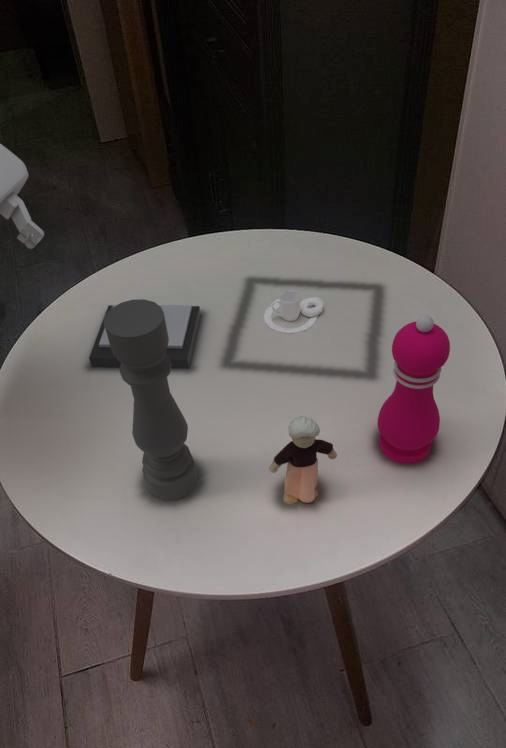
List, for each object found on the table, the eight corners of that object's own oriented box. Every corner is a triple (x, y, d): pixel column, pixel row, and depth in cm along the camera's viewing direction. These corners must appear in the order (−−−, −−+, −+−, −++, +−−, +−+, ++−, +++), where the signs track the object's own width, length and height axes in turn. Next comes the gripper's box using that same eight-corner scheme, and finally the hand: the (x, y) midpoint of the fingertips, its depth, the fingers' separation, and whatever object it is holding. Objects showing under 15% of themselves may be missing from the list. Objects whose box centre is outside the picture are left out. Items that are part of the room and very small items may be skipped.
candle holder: (161, 512, 80) (117, 347, 61) (138, 478, 84) (90, 313, 65) (207, 488, 82) (178, 322, 63) (182, 456, 86) (148, 289, 67)
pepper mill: (362, 447, 85) (375, 317, 70) (400, 416, 88) (419, 286, 73) (408, 478, 81) (432, 349, 66) (446, 446, 84) (477, 315, 69)
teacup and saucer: (325, 304, 104) (326, 281, 101) (319, 337, 99) (319, 315, 96) (268, 300, 105) (267, 278, 102) (259, 333, 100) (258, 311, 97)
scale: (92, 369, 97) (87, 354, 95) (111, 316, 105) (107, 301, 103) (189, 371, 96) (186, 356, 94) (201, 317, 104) (198, 302, 102)
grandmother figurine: (282, 518, 78) (278, 445, 69) (268, 494, 81) (263, 420, 71) (341, 494, 80) (345, 419, 71) (325, 472, 83) (328, 396, 73)
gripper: (-58, 130, 68) (54, 229, 73) (-209, 239, 56) (-62, 350, 61) (-39, 85, 64) (80, 194, 69) (-198, 193, 51) (-40, 317, 56)
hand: (12, 268), depth 65 cm, fingers open, 8 cm apart
